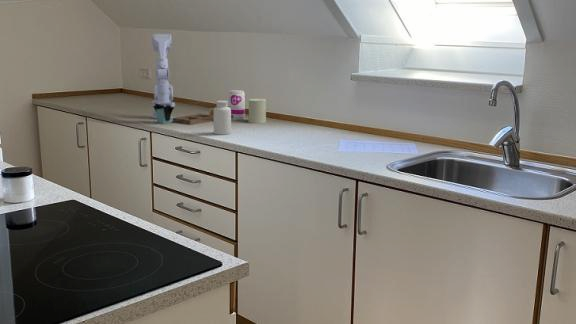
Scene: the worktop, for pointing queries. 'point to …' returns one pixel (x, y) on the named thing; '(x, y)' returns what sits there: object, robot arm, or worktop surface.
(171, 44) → the robot arm
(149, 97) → the worktop surface
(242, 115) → the supplement can
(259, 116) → the can
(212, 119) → the walnut frame
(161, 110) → the teal block
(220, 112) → the pill bottle
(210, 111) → the maple block
